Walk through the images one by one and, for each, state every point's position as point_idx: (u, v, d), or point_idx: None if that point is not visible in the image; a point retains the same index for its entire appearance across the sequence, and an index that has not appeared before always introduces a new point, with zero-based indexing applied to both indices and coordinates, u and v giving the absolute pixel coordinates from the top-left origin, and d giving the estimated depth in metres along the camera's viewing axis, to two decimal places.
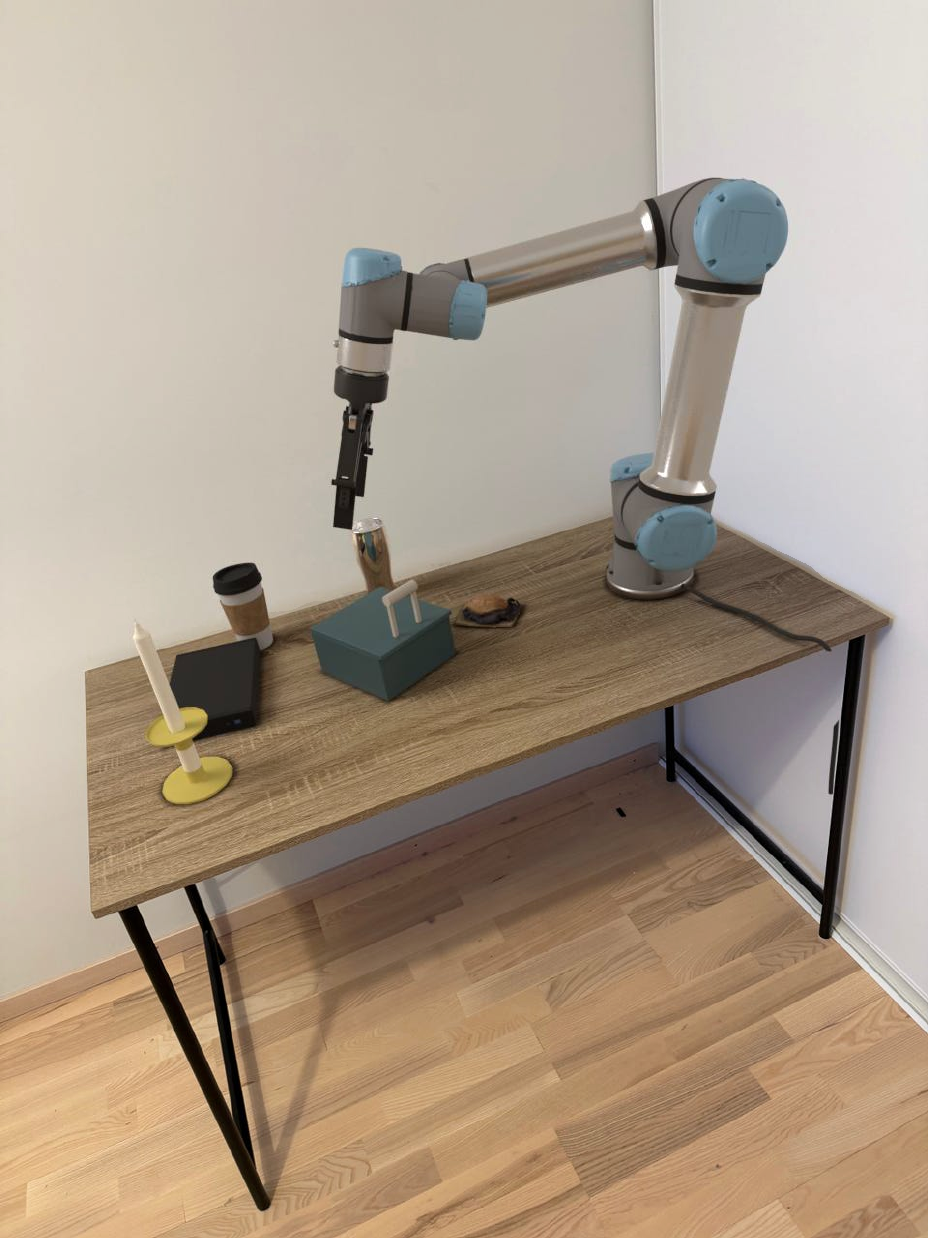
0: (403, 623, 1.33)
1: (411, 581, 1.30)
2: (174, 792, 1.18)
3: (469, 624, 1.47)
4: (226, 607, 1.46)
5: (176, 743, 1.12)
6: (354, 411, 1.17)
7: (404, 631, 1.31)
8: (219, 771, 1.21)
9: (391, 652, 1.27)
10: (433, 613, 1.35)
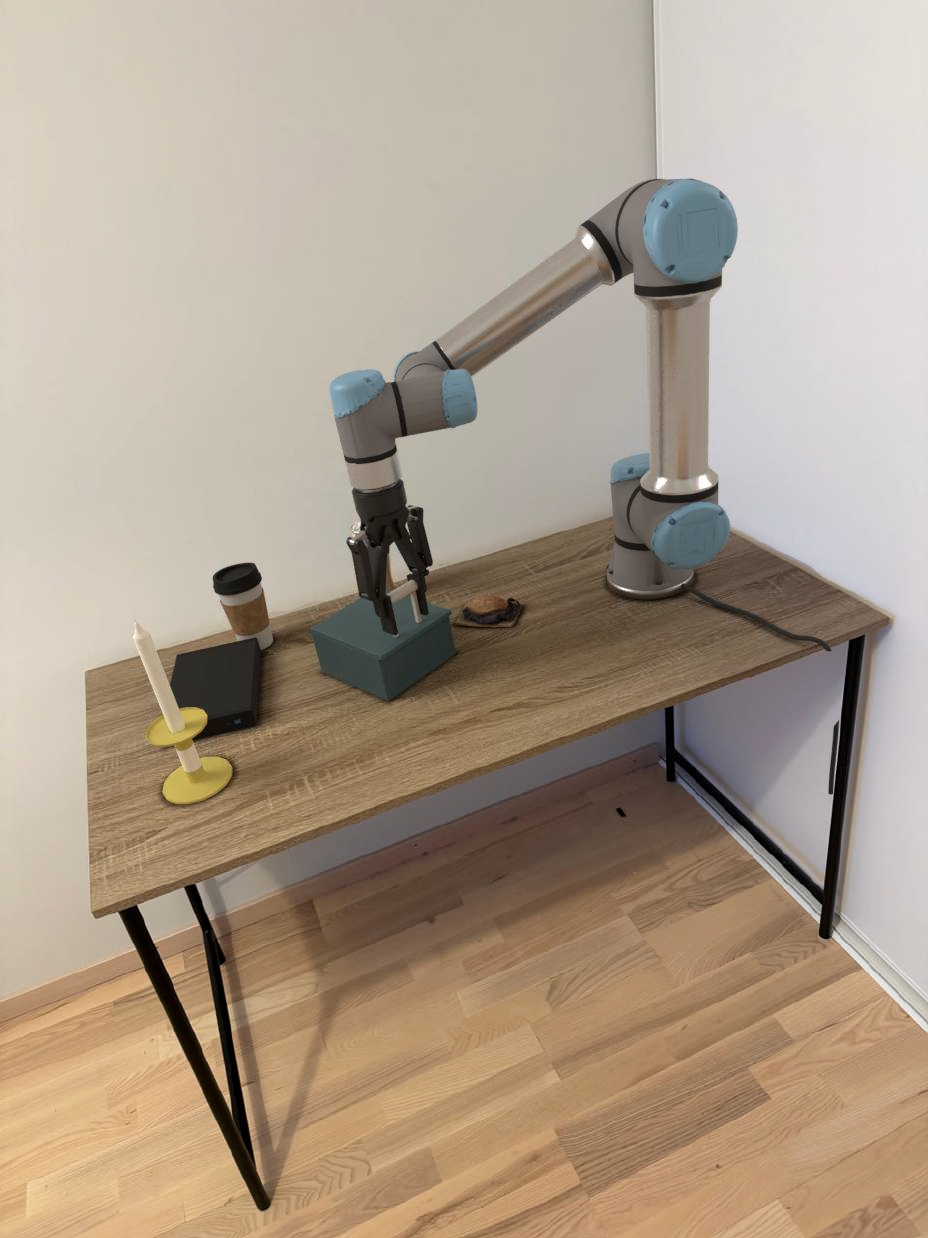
0: (403, 623, 1.33)
1: (411, 581, 1.30)
2: (174, 792, 1.18)
3: (469, 624, 1.47)
4: (226, 607, 1.46)
5: (176, 743, 1.12)
6: (364, 525, 1.21)
7: (404, 631, 1.31)
8: (219, 771, 1.21)
9: (391, 652, 1.27)
10: (433, 613, 1.35)
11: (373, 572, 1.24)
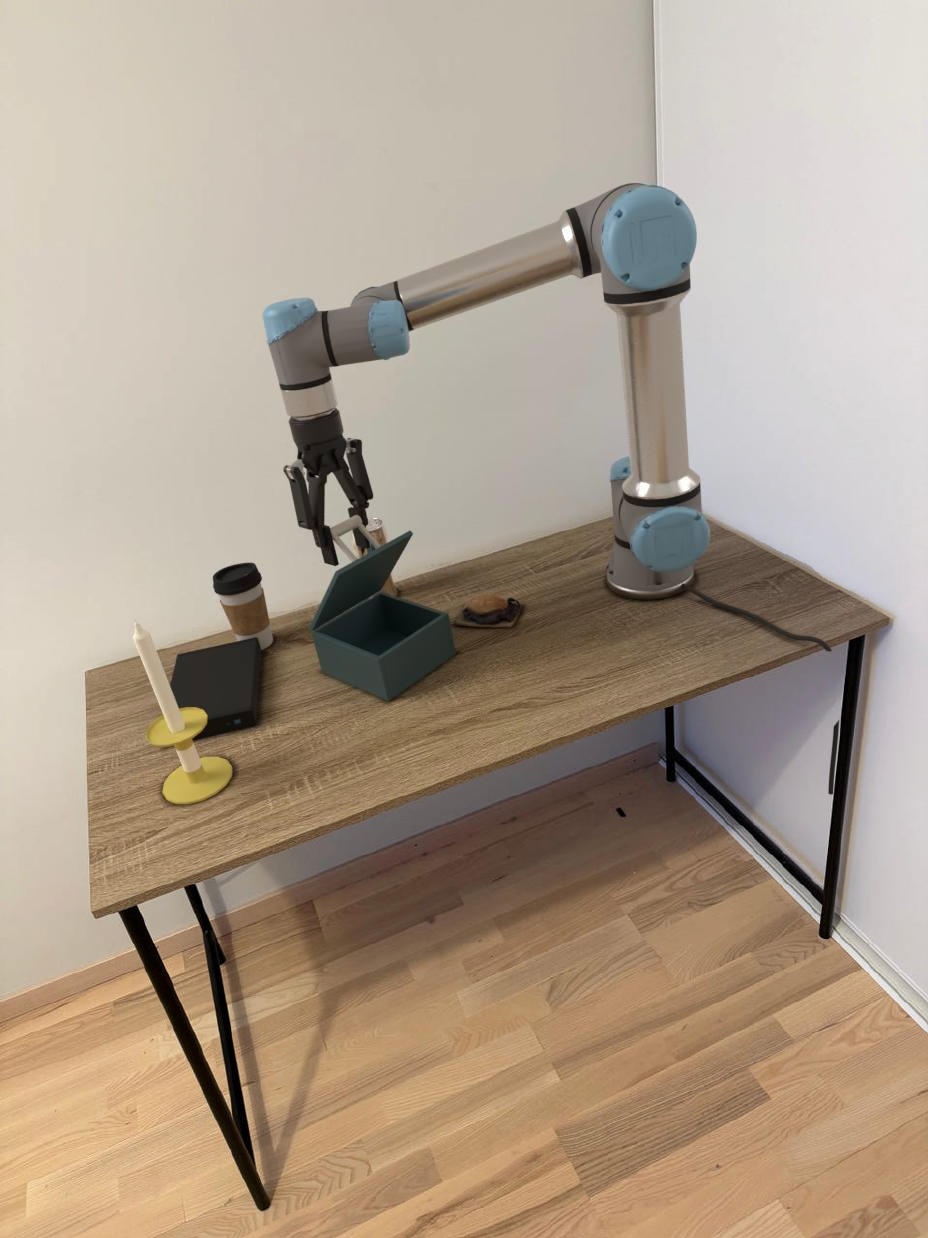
0: None
1: (353, 516, 1.32)
2: (174, 792, 1.18)
3: (469, 624, 1.47)
4: (226, 607, 1.46)
5: (176, 743, 1.12)
6: (301, 453, 1.23)
7: None
8: (219, 771, 1.21)
9: (347, 567, 1.25)
10: None
11: (312, 502, 1.27)
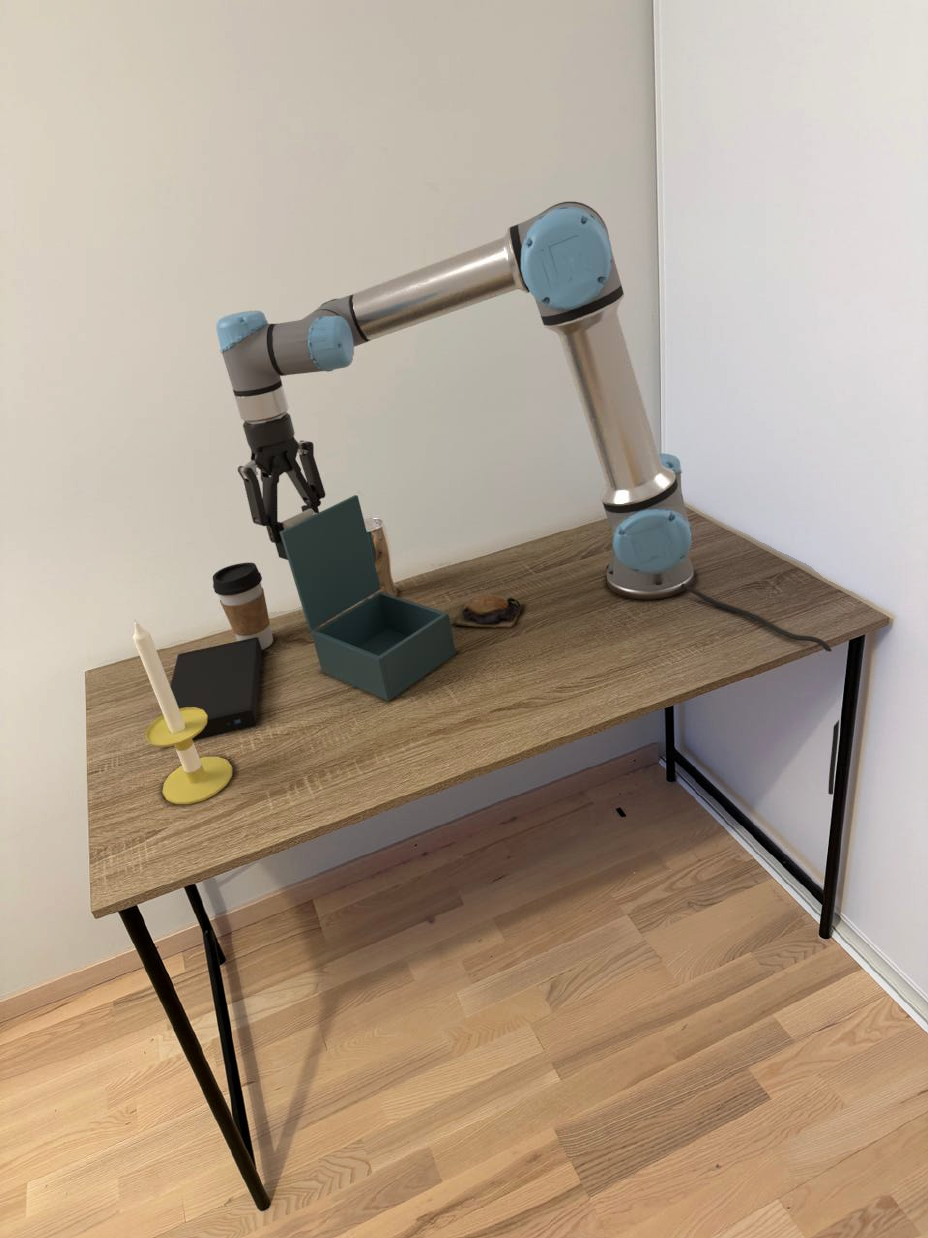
0: None
1: None
2: (174, 792, 1.18)
3: (469, 624, 1.47)
4: (226, 607, 1.46)
5: (176, 743, 1.12)
6: (254, 455, 1.32)
7: None
8: (219, 771, 1.21)
9: (291, 526, 1.30)
10: None
11: (265, 500, 1.36)
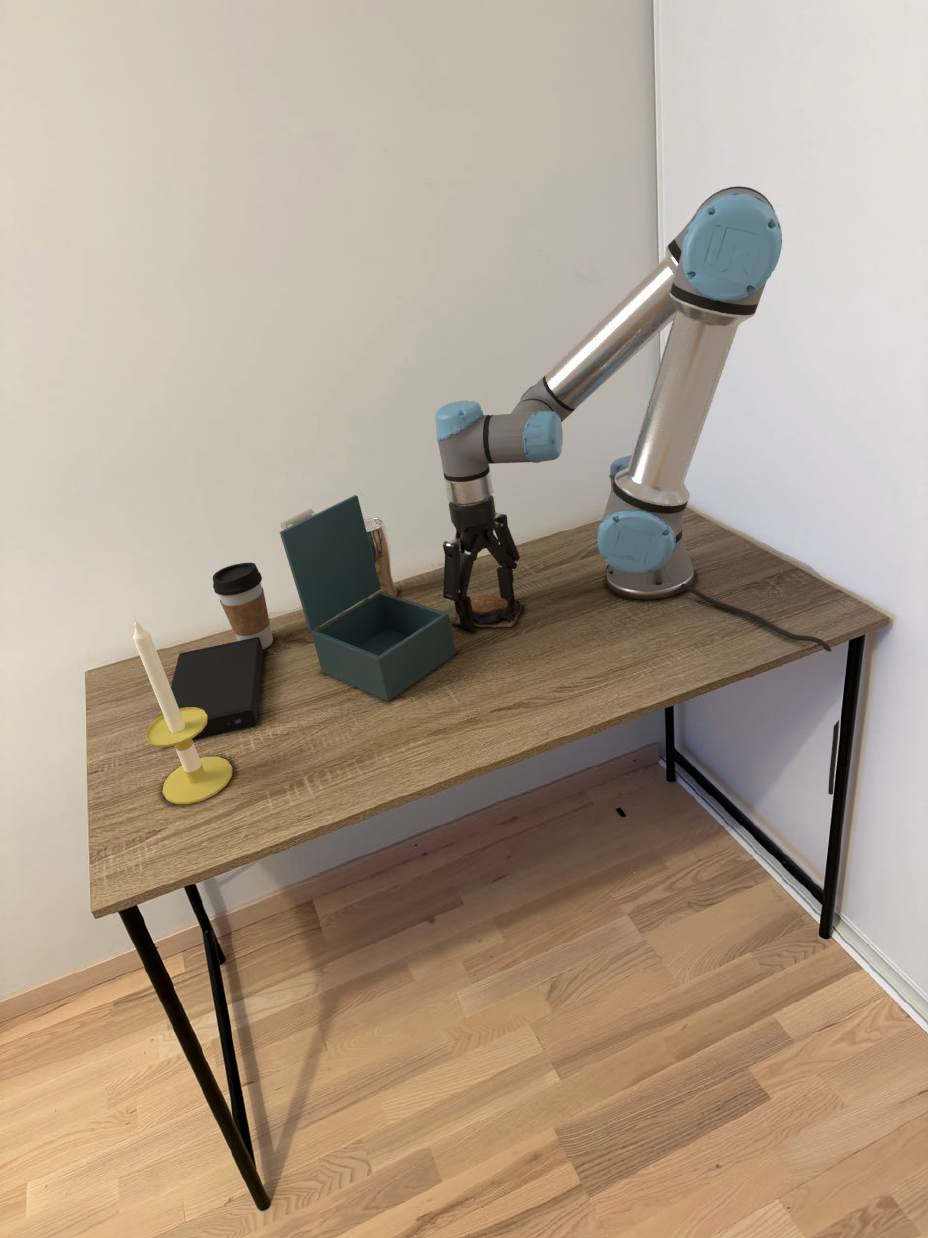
0: None
1: None
2: (174, 792, 1.18)
3: None
4: (226, 607, 1.46)
5: (176, 743, 1.12)
6: (459, 534, 1.39)
7: None
8: (219, 771, 1.21)
9: (291, 526, 1.30)
10: None
11: None
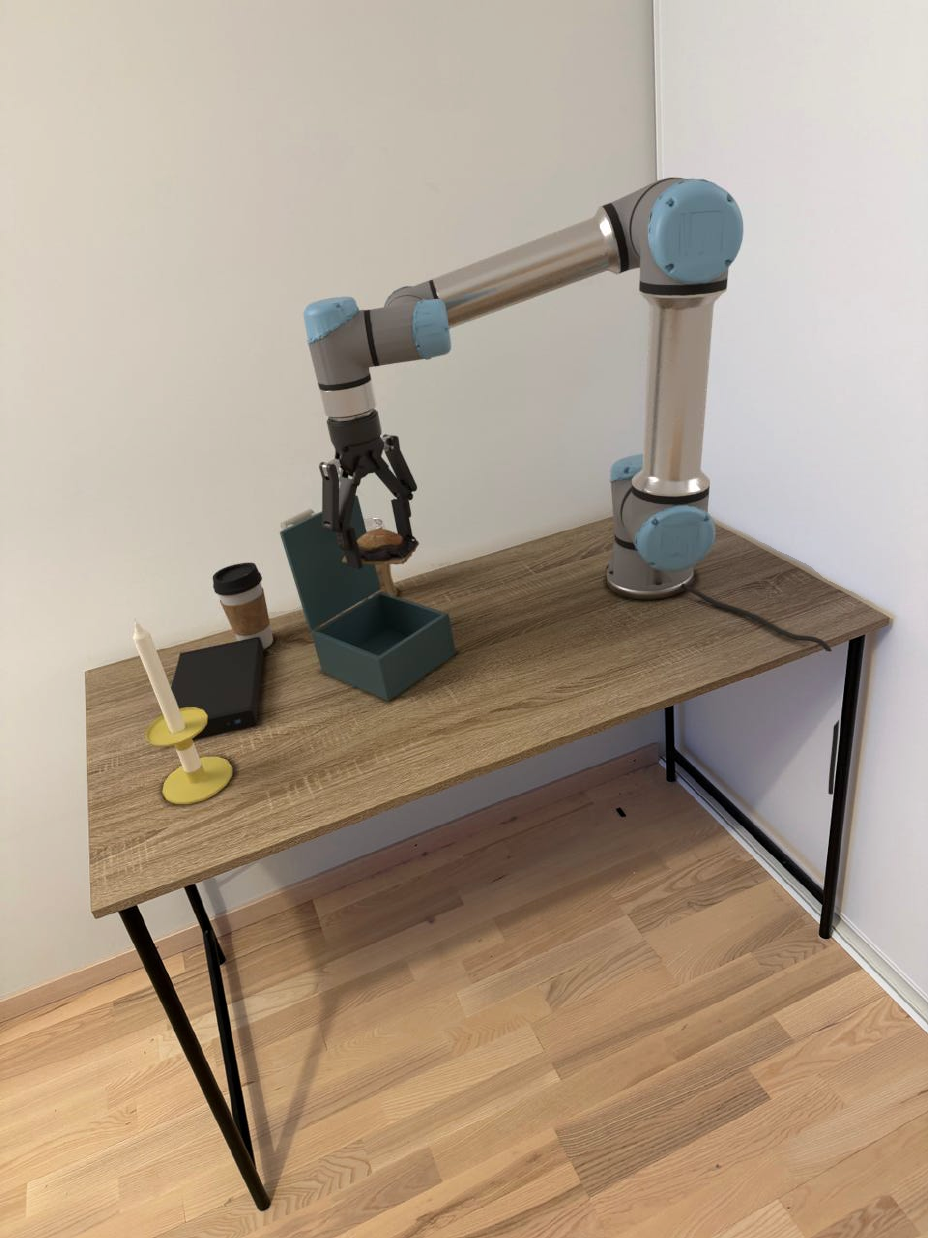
0: None
1: None
2: (174, 792, 1.18)
3: None
4: (226, 607, 1.46)
5: (176, 743, 1.12)
6: (339, 455, 1.21)
7: None
8: (219, 771, 1.21)
9: (291, 526, 1.30)
10: None
11: (340, 502, 1.24)
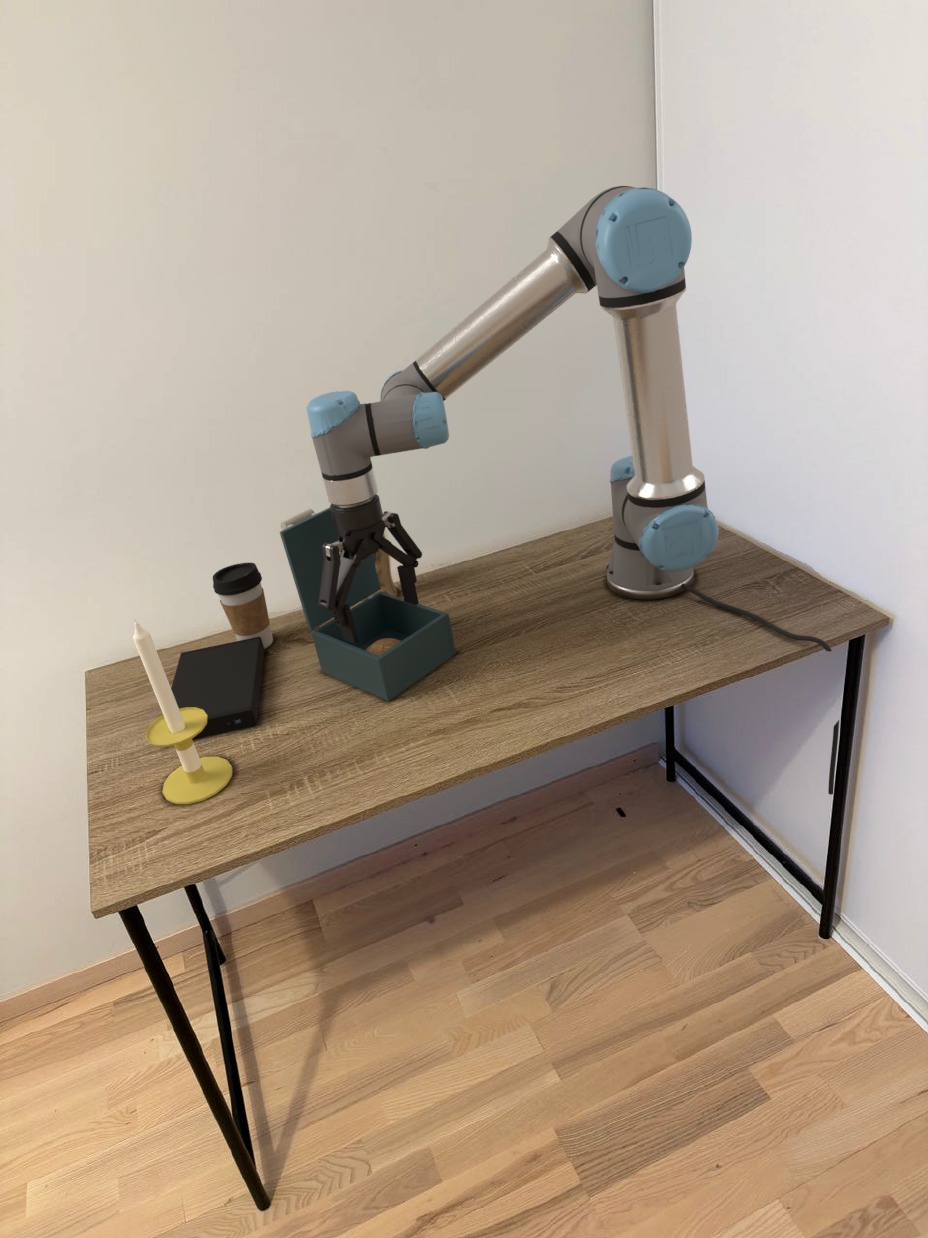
0: None
1: None
2: (174, 792, 1.18)
3: None
4: (226, 607, 1.46)
5: (176, 743, 1.12)
6: (342, 538, 1.26)
7: None
8: (219, 771, 1.21)
9: (291, 526, 1.30)
10: None
11: (339, 581, 1.28)
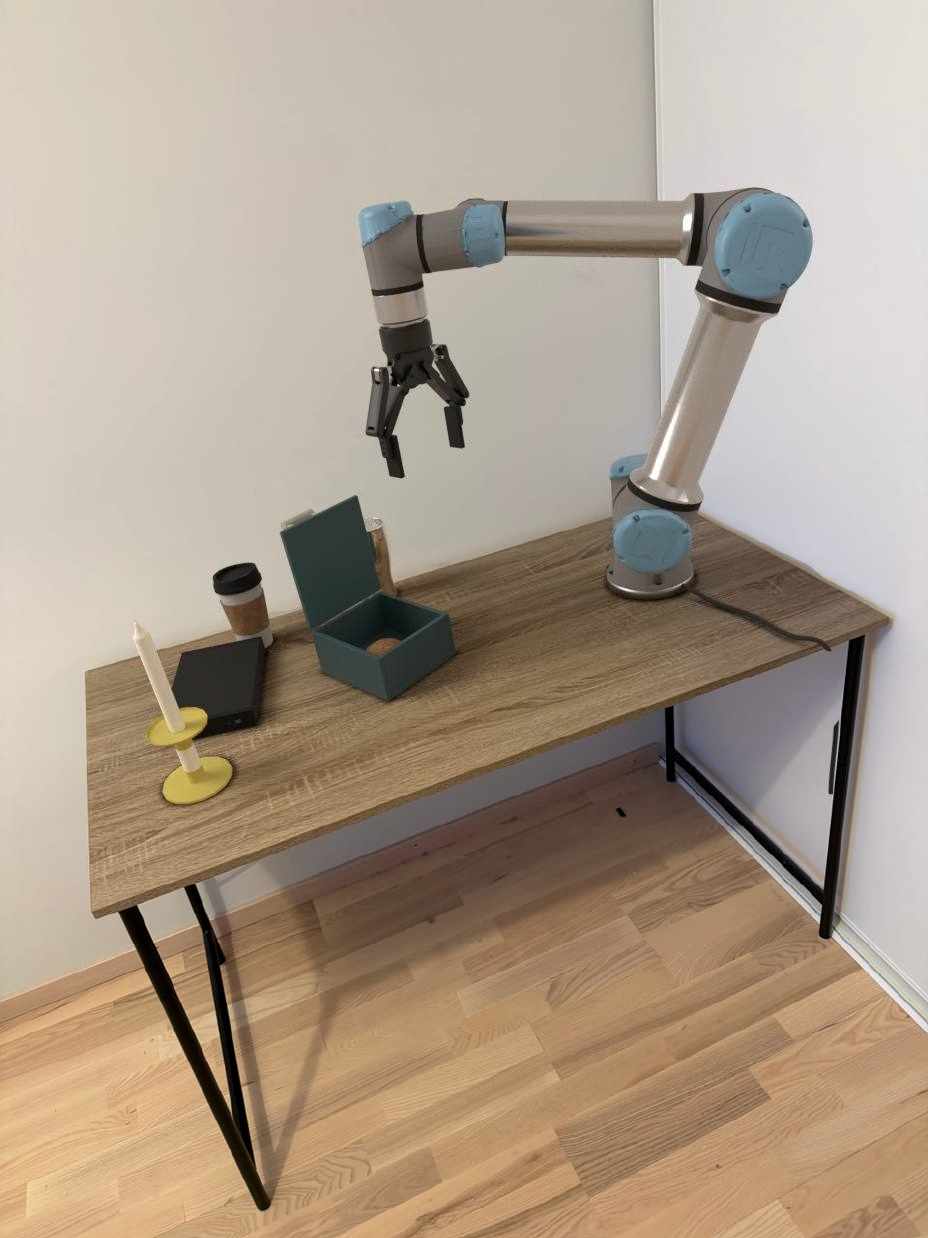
0: None
1: None
2: (174, 792, 1.18)
3: None
4: (226, 607, 1.46)
5: (176, 743, 1.12)
6: (391, 363, 1.22)
7: None
8: (219, 771, 1.21)
9: (291, 526, 1.30)
10: None
11: (386, 409, 1.24)
